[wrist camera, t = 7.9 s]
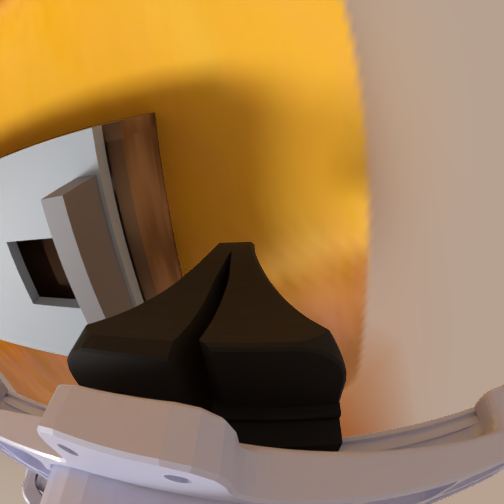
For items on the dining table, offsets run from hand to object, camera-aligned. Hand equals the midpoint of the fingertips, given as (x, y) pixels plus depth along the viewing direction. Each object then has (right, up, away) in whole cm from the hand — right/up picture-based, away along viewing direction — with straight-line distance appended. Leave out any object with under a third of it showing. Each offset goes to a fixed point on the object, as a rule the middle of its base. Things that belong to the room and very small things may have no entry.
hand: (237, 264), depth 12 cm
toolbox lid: (-16, -1, +3) cm, 17 cm away
